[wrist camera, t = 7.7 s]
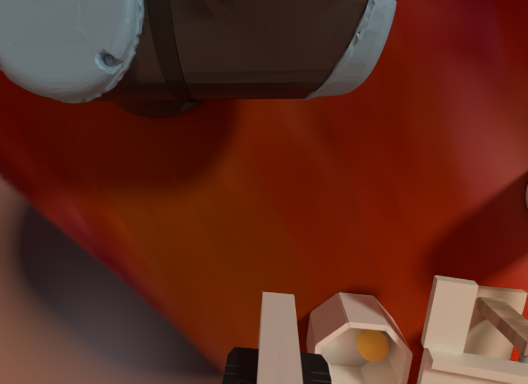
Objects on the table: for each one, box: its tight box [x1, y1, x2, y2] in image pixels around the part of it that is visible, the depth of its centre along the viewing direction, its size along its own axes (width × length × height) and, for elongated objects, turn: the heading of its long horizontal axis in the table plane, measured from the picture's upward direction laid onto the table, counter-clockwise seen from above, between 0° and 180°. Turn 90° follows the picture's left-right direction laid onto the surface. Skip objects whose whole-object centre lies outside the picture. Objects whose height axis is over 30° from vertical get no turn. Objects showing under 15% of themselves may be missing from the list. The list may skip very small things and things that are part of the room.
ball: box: [357, 329, 389, 362], centre depth 48 cm, size 4×4×4 cm
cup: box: [306, 292, 413, 384], centre depth 47 cm, size 11×11×7 cm
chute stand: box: [463, 286, 528, 360], centre depth 46 cm, size 9×17×10 cm, turn 175°
